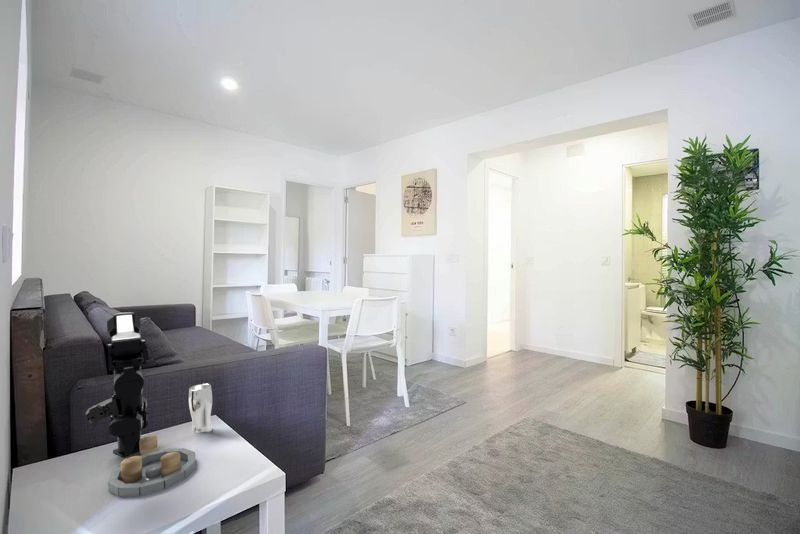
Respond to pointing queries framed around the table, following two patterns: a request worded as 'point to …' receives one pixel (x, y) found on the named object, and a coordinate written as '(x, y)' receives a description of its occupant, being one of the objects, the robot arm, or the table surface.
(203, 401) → the beer glass
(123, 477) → the bead
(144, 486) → the tray
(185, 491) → the table surface
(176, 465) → the tan short rounded cylinder
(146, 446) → the bead
